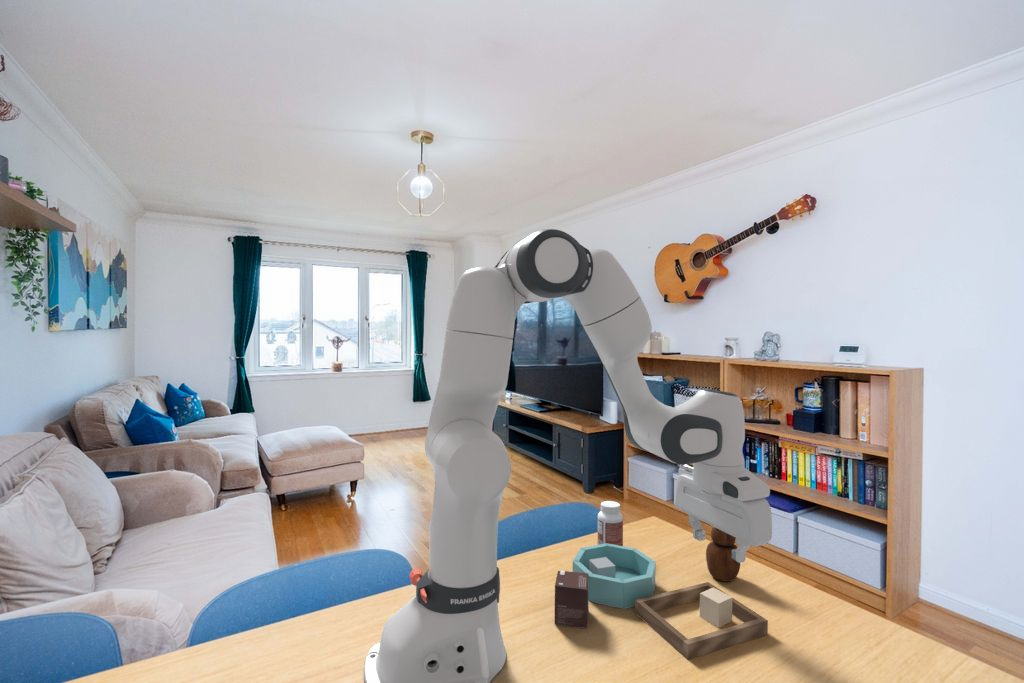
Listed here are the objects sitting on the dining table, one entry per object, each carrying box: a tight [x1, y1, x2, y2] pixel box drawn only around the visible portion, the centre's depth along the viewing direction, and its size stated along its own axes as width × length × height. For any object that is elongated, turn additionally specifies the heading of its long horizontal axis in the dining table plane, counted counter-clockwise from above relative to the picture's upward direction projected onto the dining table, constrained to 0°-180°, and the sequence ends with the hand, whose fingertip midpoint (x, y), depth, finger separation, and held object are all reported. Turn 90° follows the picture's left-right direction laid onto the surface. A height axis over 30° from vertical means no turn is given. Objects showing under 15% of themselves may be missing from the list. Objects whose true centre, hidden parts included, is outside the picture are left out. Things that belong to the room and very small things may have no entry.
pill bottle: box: [597, 500, 624, 546], centre depth 118 cm, size 6×6×11 cm
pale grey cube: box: [589, 557, 615, 578], centre depth 100 cm, size 4×4×4 cm
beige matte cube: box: [699, 588, 733, 628], centre depth 89 cm, size 4×4×4 cm
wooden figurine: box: [705, 526, 741, 582], centre depth 104 cm, size 7×6×15 cm
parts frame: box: [634, 581, 769, 661], centre depth 88 cm, size 18×14×2 cm
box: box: [554, 570, 589, 629], centre depth 89 cm, size 6×6×7 cm
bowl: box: [572, 543, 657, 610], centre depth 101 cm, size 16×16×5 cm
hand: (717, 549), depth 89 cm, fingers open, 8 cm apart
